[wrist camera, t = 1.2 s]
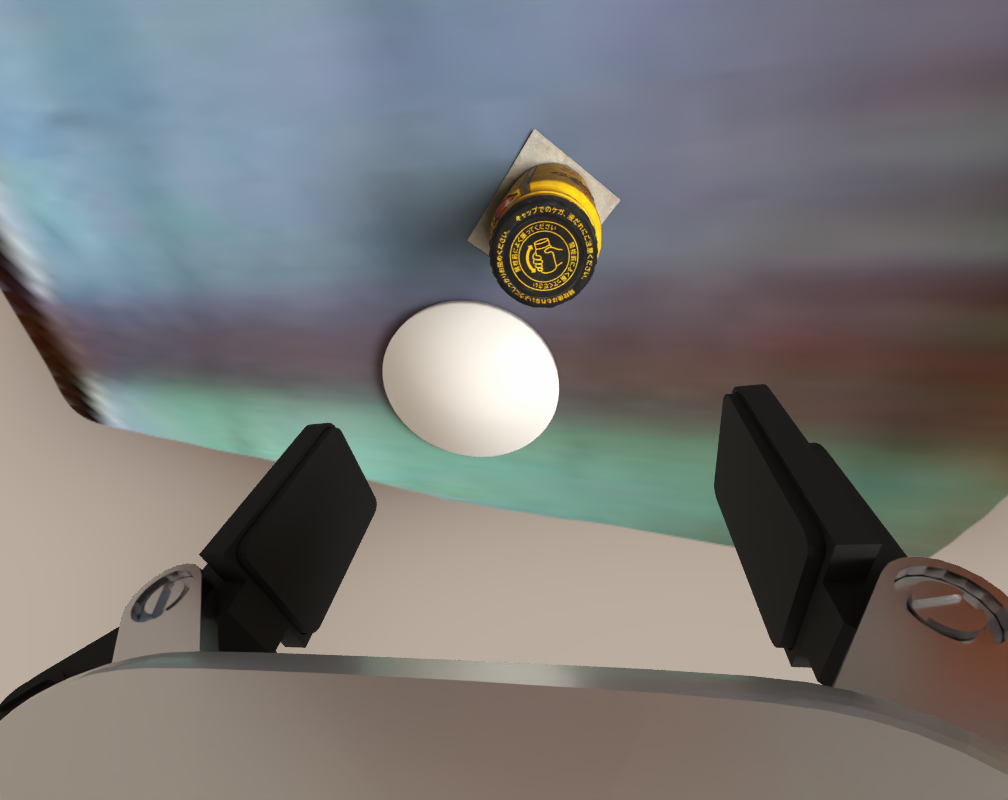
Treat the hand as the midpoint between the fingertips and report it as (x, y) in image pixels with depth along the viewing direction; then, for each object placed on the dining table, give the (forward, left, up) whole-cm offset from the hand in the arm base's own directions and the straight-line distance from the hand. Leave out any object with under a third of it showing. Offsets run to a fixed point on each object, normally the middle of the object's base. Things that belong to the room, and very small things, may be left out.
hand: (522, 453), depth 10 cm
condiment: (-1, -1, -25) cm, 25 cm away
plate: (+12, -9, -24) cm, 29 cm away
